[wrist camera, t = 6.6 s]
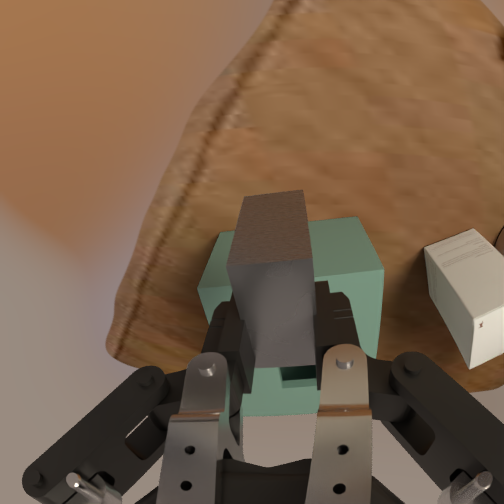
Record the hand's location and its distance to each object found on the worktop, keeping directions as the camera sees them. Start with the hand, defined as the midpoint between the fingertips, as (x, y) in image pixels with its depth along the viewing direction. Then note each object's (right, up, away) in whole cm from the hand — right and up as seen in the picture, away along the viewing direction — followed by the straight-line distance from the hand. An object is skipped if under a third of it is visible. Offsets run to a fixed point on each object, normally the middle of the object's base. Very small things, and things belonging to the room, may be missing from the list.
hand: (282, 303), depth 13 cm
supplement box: (+22, +1, +19) cm, 29 cm away
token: (0, +3, +2) cm, 3 cm away
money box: (+4, -3, +23) cm, 23 cm away
